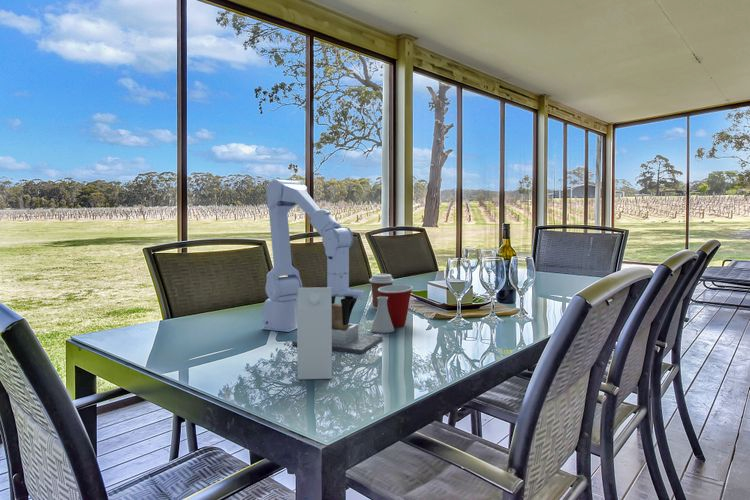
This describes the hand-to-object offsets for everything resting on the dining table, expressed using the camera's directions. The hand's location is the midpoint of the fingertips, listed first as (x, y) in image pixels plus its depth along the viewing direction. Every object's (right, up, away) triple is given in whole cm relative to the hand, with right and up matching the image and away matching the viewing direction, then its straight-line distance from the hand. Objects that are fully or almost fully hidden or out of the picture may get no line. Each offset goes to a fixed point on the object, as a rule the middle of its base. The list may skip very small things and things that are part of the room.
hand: (338, 323), depth 134 cm
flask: (+12, -4, +14) cm, 19 cm away
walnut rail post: (0, -3, 0) cm, 3 cm away
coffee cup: (+12, -2, +48) cm, 50 cm away
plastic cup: (+16, -4, +21) cm, 27 cm away
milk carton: (-3, -8, -25) cm, 27 cm away
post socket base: (0, -5, 0) cm, 5 cm away
